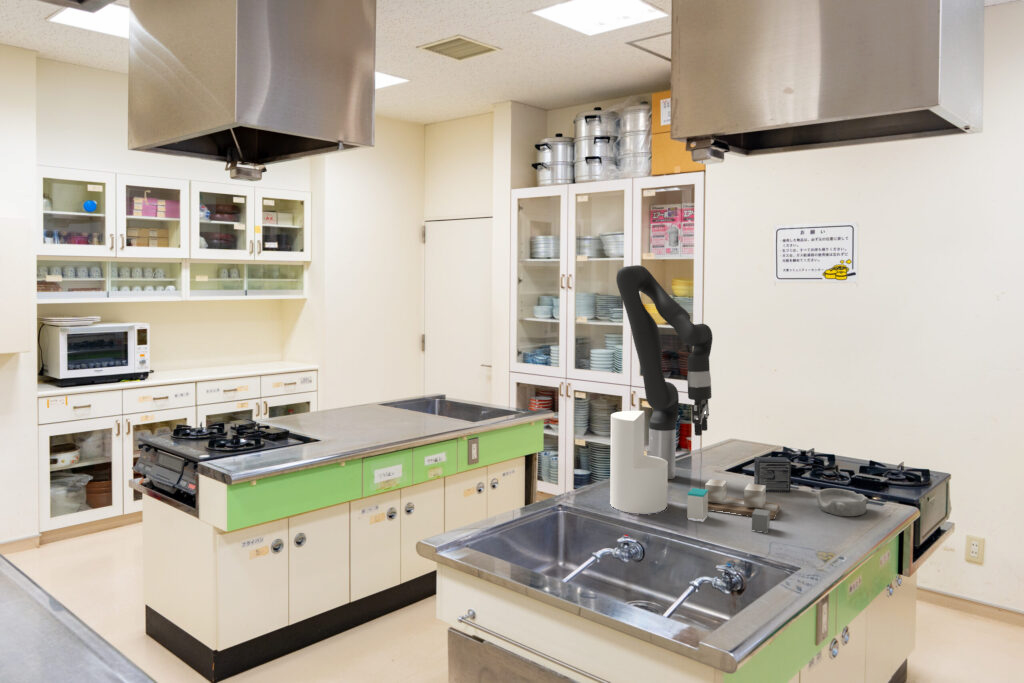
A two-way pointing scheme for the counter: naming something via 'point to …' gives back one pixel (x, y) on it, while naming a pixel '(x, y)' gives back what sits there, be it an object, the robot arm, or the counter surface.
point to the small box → (773, 473)
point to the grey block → (761, 520)
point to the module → (697, 503)
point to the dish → (842, 502)
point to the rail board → (746, 506)
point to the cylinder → (635, 467)
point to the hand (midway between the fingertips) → (701, 432)
